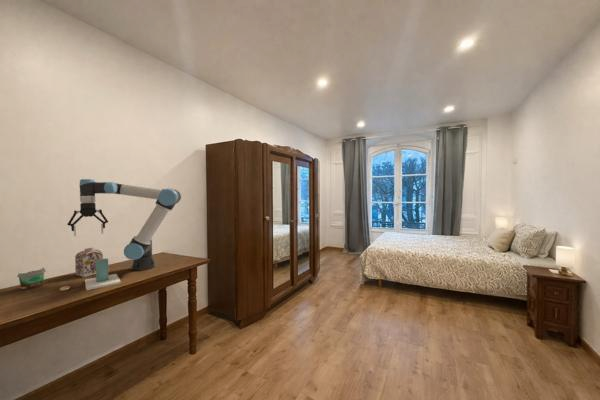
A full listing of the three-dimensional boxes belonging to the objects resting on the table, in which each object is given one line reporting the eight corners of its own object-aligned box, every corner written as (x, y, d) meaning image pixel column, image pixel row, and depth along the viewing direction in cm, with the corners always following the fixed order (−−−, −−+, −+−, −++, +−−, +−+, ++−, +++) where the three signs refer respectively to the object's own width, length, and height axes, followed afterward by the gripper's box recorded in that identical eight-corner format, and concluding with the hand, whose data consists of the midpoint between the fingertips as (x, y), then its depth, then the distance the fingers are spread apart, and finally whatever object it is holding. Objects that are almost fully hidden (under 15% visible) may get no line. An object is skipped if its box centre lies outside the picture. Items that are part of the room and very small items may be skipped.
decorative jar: (104, 272, 171) (103, 247, 170) (83, 277, 161) (82, 250, 160) (95, 270, 176) (94, 245, 176) (75, 275, 166) (74, 249, 166)
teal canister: (108, 278, 156) (107, 258, 156) (109, 280, 151) (108, 259, 151) (95, 280, 152) (95, 259, 151) (96, 282, 147) (96, 261, 147)
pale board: (116, 275, 164) (116, 273, 164) (120, 283, 150) (120, 281, 150) (84, 281, 153) (84, 279, 153) (86, 290, 139) (86, 288, 139)
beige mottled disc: (67, 287, 144) (67, 285, 144) (71, 288, 142) (71, 286, 142) (57, 290, 140) (57, 288, 140) (62, 291, 138) (62, 289, 138)
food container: (25, 291, 138) (25, 274, 138) (17, 290, 139) (17, 273, 139) (51, 283, 150) (51, 267, 150) (44, 283, 151) (43, 267, 151)
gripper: (111, 201, 170) (112, 231, 171) (61, 203, 153) (62, 236, 154) (112, 202, 165) (113, 233, 165) (61, 203, 148) (62, 237, 148)
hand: (89, 234), depth 160 cm, fingers open, 13 cm apart
